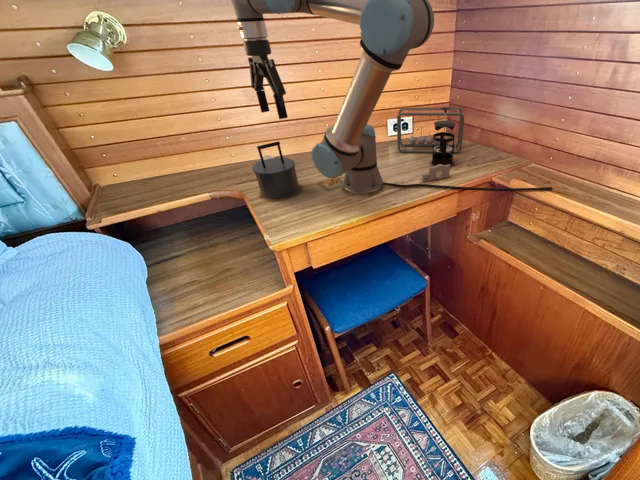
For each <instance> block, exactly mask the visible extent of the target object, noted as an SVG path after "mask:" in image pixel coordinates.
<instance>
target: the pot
mask: <svg viewBox="0 0 640 480" xmlns="http://www.w3.org/2000/svg"><path fill="white" fill-rule="evenodd" d="M254 174H255V177H256V181H257V184H258V186H259V191H260V194H261V196H262V197H263V198H265V199H271V200H280V199H286V198H289V197H292V196H294V195H296V194H297V193H298V192H299V191H300V185H299V180H298V176H297V171H296V165H295V166H294V167H293V168H292V169H291V170H289V171H286V172H283V173H279V174H273V175H261V174H257V173H255V172H254Z"/></svg>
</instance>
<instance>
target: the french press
mask: <svg viewBox="0 0 640 480" xmlns="http://www.w3.org/2000/svg"><path fill="white" fill-rule="evenodd" d="M439 108H440V109H442V110H441V111H443V113H445V116H444V120H439V121H438V120H436V121H435V122H433V126H434V130H435V131H440V130H442V129H443V131H440V132H436V133H434V134H433V136H432V138H433V143H432V144H433V146H432V150H434V151H435V152H437V153H432V157H431V158H432V159H431V165H432V166H433V167H434V166H436V165H439V164H441V165H448V164H450V167H452V166H453V164H454V161H453V160H454V153H453V151H455V146H454V144H455V137H456V136H455V134H454V133H451V132H447V131H446V127H447V128H448V129H450V131H454V130H455V126H456V122H455V121H451V120H447V121H446V119H447V116H446V113H447V112H448V111H450V110H449V109H451V108H452V107H450V106H441V107H439ZM437 136H438V137H440V138H436V137H437ZM445 136H446V137H448V138H449V139H445ZM434 140H435V141H438V142H440V146H434ZM447 142H449V143H450V142H452V144H453V146H447ZM450 152H452V153H450Z"/></svg>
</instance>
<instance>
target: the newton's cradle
mask: <svg viewBox="0 0 640 480" xmlns="http://www.w3.org/2000/svg"><path fill="white" fill-rule="evenodd" d="M440 108H441V107H401V108H400V109H399V110H398V114H397V116H396V136H397V142H396V143H397V150H398V152H399V153H402V154H416V153H417V154H435V153H437V152H435V151H434V150H433V149H431V150H430V149H429V150H428V149H427V150H424V149H423V150H420V149H415V150H414V149H411V150H410V149H404V148H405V147H433V136H431V132H429V135H428V136H427V137H426V138H425V137H424V136H423V127H421V129H420V130H421V133H420V136H418V138H416V136H414V135H412V136H410V137H409V138H408V143H403V141H402V116H403V117H404V116H408V117H409V116H412V124H414V123H415V117H416V116H417V117H418V116H419V117H420V116H421V117H423V116H424V117H425V116H426V117H427V116H429V118H431V116H434V117H435V116H436V117H437V121H440V116H444V117H445V113H444V112H431V111H443V110H442V109H440ZM450 108H451V109H449V110H448V111H457V112H448V111H447V113H446V119H445V121H448V116H449V117H451V116H458V117H459V120H458V121H459V122H458V133H457V141H456V143H454V150H453V154H458V153H460V152H461V151H462V146H463V145H462V144H463V136H464V123H465V115H464V114H463V109H461V108H460V107H450ZM404 111H412V112H404ZM415 111H429V112H415ZM447 128H448V127H445V130H447ZM436 138H440V136H437V137H436ZM449 138H450V137H449V136H445V139H449ZM401 146H402V149H401ZM436 146H440V142H438V141H435V140H434V147H436ZM447 146H449V147H453V143H450V142H447ZM456 147H458V149H457V148H456ZM450 154H452V152H450Z"/></svg>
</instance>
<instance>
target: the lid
mask: <svg viewBox="0 0 640 480" xmlns="http://www.w3.org/2000/svg"><path fill="white" fill-rule="evenodd" d="M276 146H277V150H278V154H279V157H274V158H270V159H266V160H263V156H264V155H263V153H262V150H264V149H269V148H272V147H276ZM256 149H257V151H258V155H259V159H260V160H261V161H260V160H259V161H258V162H256V163H253V165H252V167H251V170H252V172H253V173H254V174H255V173H257V174H261V175H273V174H279V173H283V172H286V171H289V170H291V169H292V168H293V167H294V166H295V167H296V162H295V160H294V159H292V158H288V157H284V156H283V153H282V148H281V142H280V141H279V140H278V141H274V142H270V143H269V142H268V143H265V144H262V145H261V144H260V145H257V146H256Z"/></svg>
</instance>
